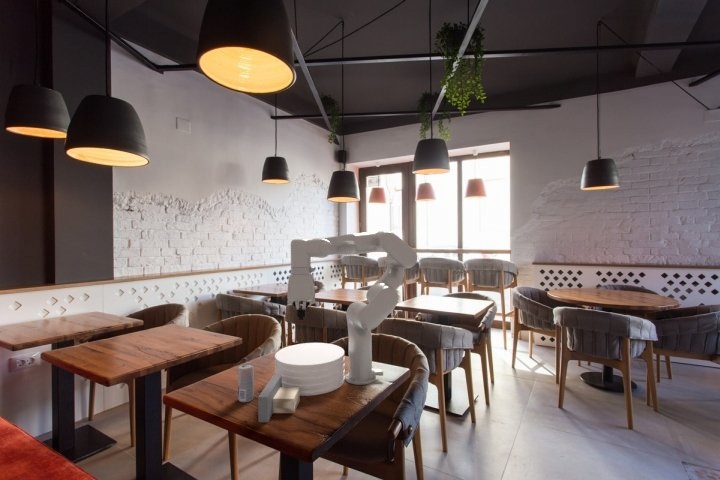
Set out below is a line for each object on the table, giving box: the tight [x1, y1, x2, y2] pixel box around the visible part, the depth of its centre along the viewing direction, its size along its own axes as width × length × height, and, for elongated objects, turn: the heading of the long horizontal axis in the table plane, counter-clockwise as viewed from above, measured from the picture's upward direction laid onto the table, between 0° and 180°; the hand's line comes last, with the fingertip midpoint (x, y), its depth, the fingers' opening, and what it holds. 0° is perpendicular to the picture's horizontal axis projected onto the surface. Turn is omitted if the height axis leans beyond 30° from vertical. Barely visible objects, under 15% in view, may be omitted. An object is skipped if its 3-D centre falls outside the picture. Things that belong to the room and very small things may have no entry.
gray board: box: [257, 374, 282, 423], centre depth 121 cm, size 3×18×8 cm, turn 179°
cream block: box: [273, 387, 301, 414], centre depth 122 cm, size 7×9×5 cm
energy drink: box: [237, 363, 255, 403], centre depth 128 cm, size 5×5×12 cm
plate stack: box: [274, 342, 346, 397], centre depth 144 cm, size 28×28×12 cm
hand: (301, 319), depth 135 cm, fingers closed
